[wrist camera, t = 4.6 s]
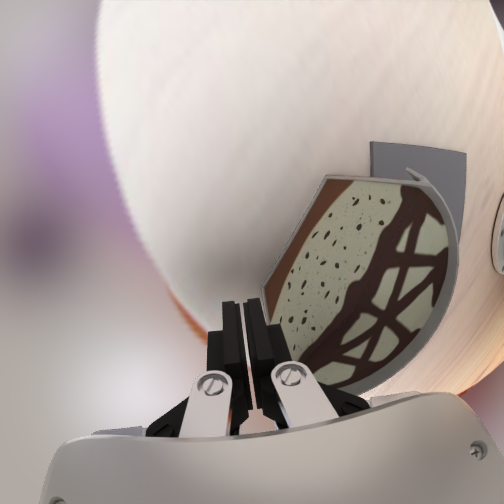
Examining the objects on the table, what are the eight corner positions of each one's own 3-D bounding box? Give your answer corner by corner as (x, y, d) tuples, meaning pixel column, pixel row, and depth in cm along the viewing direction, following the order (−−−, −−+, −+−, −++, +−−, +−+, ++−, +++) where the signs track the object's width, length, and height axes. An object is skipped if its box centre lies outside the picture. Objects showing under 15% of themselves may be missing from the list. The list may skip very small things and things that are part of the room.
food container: (315, 327, 22) (360, 420, 13) (251, 303, 20) (273, 411, 11) (395, 200, 19) (493, 244, 9) (335, 156, 17) (438, 173, 8)
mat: (463, 152, 18) (466, 153, 17) (442, 305, 24) (444, 307, 23) (370, 141, 17) (372, 141, 16) (357, 328, 23) (359, 331, 22)
